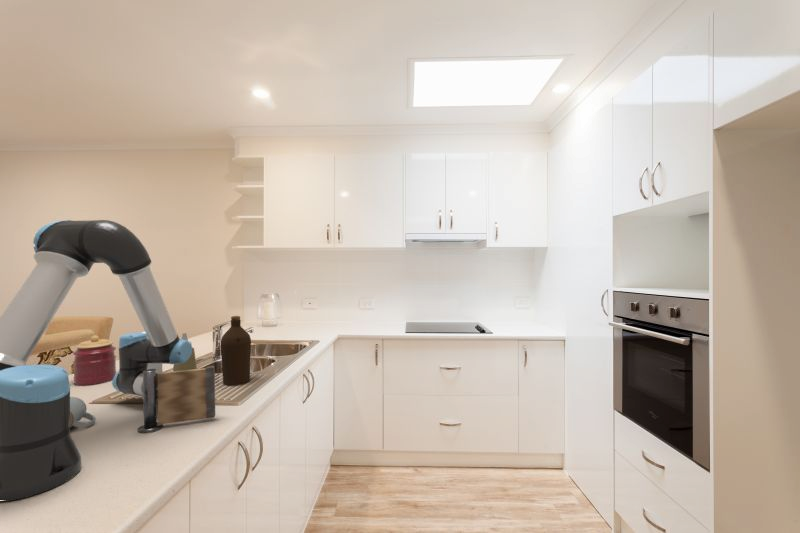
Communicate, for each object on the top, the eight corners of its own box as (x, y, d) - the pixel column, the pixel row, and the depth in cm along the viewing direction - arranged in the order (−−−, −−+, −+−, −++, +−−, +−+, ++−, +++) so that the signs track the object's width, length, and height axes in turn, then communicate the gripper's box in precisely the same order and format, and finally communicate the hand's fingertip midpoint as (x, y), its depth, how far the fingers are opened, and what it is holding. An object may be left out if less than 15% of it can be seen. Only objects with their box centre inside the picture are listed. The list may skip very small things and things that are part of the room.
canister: (101, 374, 155) (101, 331, 154) (124, 377, 151) (123, 333, 150) (65, 384, 142) (64, 337, 142) (88, 387, 138) (87, 339, 138)
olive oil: (257, 379, 146) (256, 315, 145) (234, 388, 136) (233, 319, 136) (238, 376, 150) (237, 313, 150) (214, 384, 141) (213, 317, 141)
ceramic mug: (39, 437, 99) (39, 408, 99) (53, 424, 106) (53, 397, 106) (89, 430, 103) (89, 402, 103) (99, 419, 110) (99, 393, 110)
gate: (158, 425, 103) (157, 372, 103) (159, 422, 105) (158, 370, 105) (214, 417, 108) (213, 367, 108) (215, 414, 110) (214, 365, 110)
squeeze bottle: (184, 383, 142) (183, 336, 142) (168, 381, 144) (167, 334, 144) (201, 377, 149) (200, 332, 149) (186, 375, 152) (185, 331, 152)
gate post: (163, 429, 103) (162, 371, 102) (137, 435, 99) (135, 375, 99) (163, 421, 108) (162, 366, 107) (137, 427, 104) (136, 369, 104)
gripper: (174, 390, 125) (227, 399, 116) (132, 404, 113) (188, 416, 104) (173, 367, 125) (227, 375, 116) (131, 379, 113) (187, 389, 104)
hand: (208, 394), depth 110 cm, fingers closed
